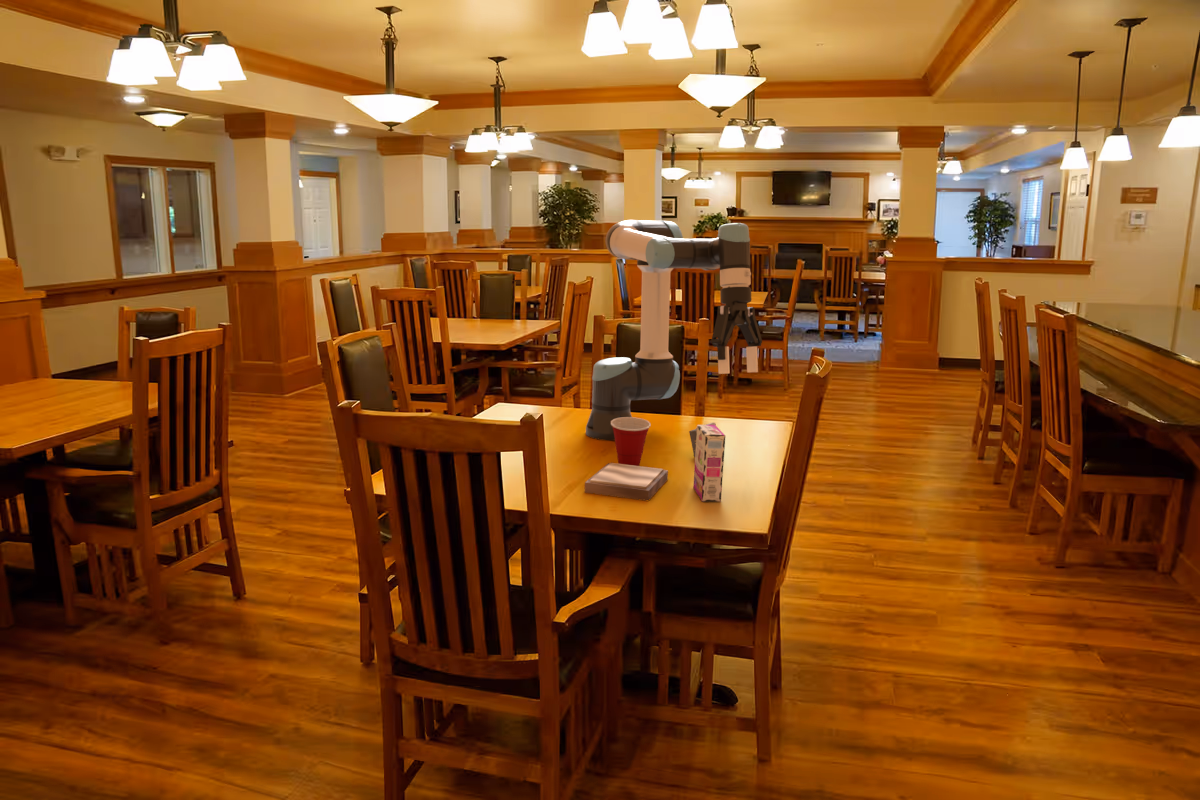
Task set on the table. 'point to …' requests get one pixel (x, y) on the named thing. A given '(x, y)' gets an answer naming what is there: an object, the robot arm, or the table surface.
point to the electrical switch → (693, 437)
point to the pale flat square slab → (627, 481)
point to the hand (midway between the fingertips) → (738, 373)
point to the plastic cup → (630, 439)
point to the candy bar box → (709, 463)
